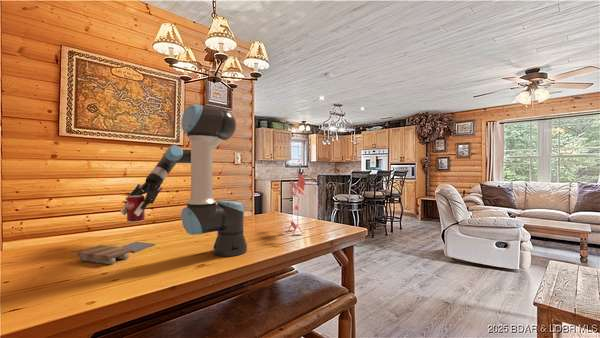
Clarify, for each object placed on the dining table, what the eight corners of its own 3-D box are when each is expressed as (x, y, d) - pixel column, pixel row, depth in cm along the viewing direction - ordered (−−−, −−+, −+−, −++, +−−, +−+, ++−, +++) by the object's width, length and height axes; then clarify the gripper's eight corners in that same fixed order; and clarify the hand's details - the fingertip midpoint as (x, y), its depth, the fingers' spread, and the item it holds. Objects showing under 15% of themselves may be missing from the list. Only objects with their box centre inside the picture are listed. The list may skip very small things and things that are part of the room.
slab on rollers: (130, 257, 115) (130, 248, 115) (108, 266, 105) (108, 256, 105) (101, 254, 119) (101, 245, 119) (77, 261, 109) (77, 252, 109)
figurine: (295, 238, 147) (297, 174, 146) (282, 228, 171) (284, 172, 171) (321, 237, 152) (323, 174, 151) (305, 227, 176) (307, 173, 176)
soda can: (128, 223, 124) (128, 197, 124) (125, 220, 129) (125, 195, 129) (146, 221, 129) (146, 196, 128) (142, 218, 134) (142, 194, 134)
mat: (155, 244, 133) (155, 243, 133) (134, 252, 122) (134, 251, 122) (136, 242, 136) (136, 241, 136) (114, 250, 125) (114, 248, 125)
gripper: (176, 182, 141) (151, 220, 125) (145, 181, 146) (117, 217, 131) (169, 173, 136) (142, 210, 120) (136, 172, 141) (107, 208, 126)
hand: (129, 213), depth 126 cm, fingers closed on soda can, 7 cm apart
